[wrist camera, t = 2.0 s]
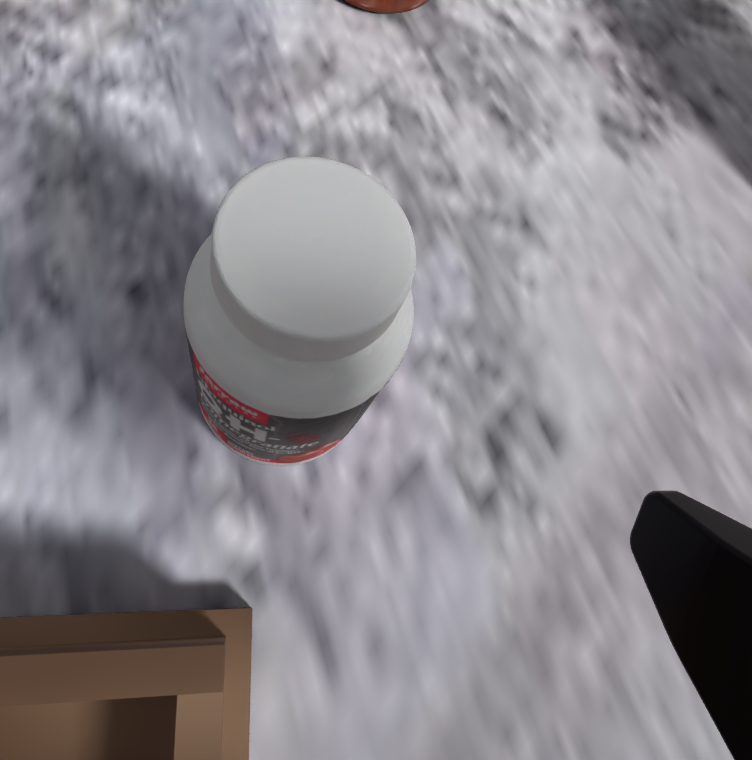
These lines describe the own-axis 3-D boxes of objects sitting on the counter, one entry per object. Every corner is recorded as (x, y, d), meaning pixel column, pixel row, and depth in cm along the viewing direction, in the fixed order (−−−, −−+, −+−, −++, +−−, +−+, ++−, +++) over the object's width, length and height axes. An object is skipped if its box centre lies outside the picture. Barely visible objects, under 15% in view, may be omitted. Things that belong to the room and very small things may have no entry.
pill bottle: (182, 457, 20) (140, 346, 11) (213, 302, 22) (199, 94, 13) (352, 479, 21) (445, 394, 12) (368, 328, 23) (460, 153, 14)
